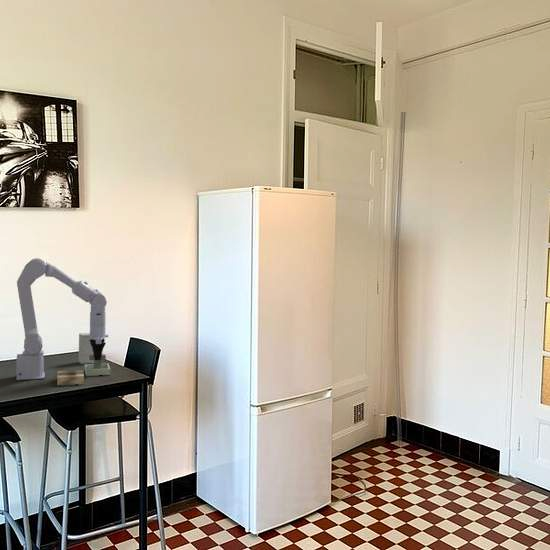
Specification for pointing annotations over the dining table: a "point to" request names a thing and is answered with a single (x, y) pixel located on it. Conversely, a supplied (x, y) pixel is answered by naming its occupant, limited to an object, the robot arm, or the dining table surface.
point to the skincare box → (85, 348)
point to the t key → (97, 361)
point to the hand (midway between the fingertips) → (97, 358)
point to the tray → (97, 370)
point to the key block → (70, 377)
